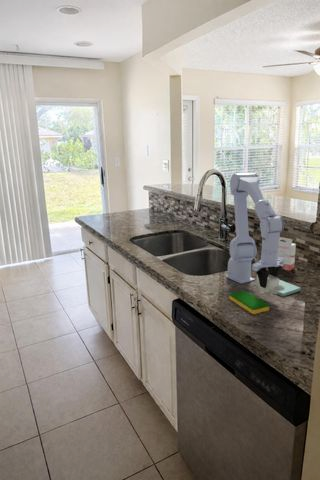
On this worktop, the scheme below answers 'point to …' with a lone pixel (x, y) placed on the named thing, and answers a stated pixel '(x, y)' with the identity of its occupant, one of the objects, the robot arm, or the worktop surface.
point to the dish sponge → (249, 302)
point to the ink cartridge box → (287, 253)
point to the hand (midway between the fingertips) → (267, 285)
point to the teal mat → (287, 288)
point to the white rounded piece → (271, 285)
